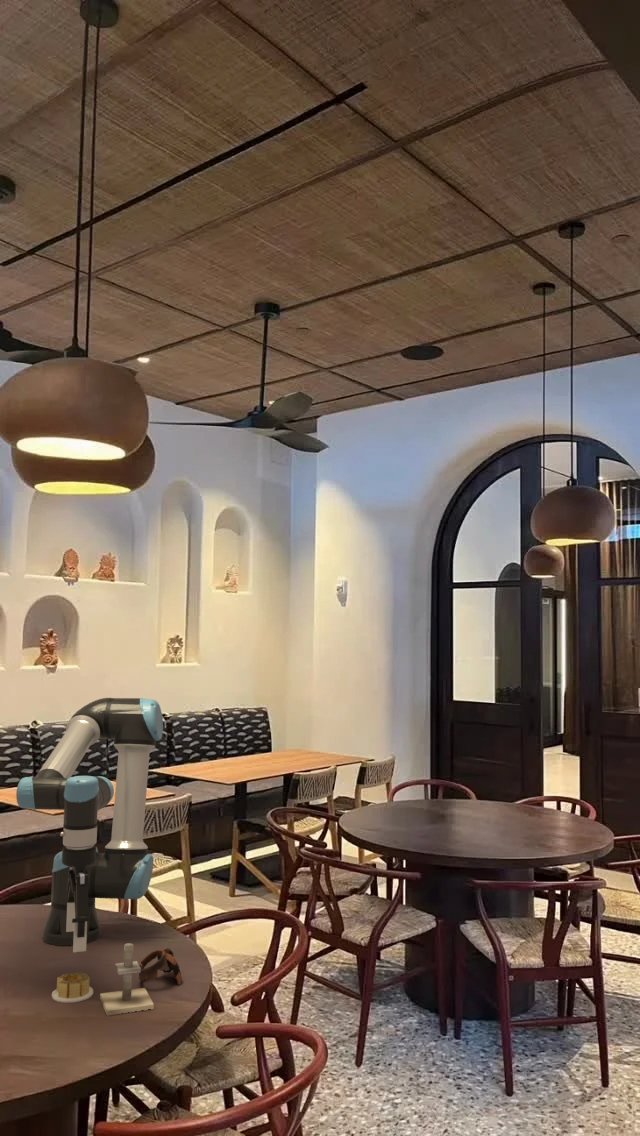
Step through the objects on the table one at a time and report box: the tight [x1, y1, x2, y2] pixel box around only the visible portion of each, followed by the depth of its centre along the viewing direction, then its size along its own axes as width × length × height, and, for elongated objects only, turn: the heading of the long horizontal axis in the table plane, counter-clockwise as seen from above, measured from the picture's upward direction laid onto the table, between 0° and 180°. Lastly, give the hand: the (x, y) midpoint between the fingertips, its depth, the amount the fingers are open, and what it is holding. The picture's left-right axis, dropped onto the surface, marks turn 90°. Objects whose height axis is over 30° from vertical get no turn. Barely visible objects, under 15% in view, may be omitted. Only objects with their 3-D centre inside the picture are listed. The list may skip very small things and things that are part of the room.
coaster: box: [51, 986, 94, 1004], centre depth 193 cm, size 9×9×1 cm
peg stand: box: [99, 942, 155, 1016], centre depth 190 cm, size 10×10×12 cm
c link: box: [56, 971, 91, 999], centre depth 194 cm, size 7×7×3 cm
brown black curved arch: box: [138, 948, 183, 986], centre depth 203 cm, size 12×10×8 cm
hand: (75, 940), depth 195 cm, fingers open, 13 cm apart
